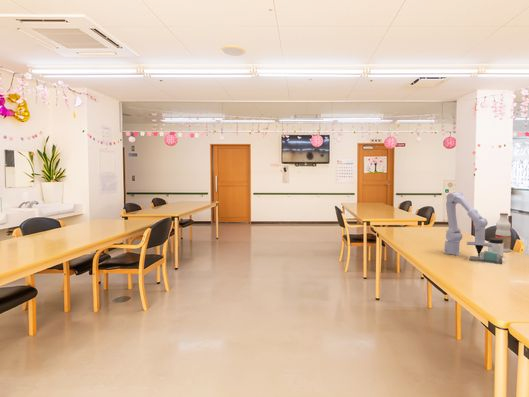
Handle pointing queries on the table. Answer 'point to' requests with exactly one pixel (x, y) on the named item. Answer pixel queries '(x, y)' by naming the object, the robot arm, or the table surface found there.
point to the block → (490, 255)
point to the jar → (496, 245)
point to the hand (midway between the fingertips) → (479, 256)
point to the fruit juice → (504, 231)
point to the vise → (499, 260)
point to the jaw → (482, 255)
